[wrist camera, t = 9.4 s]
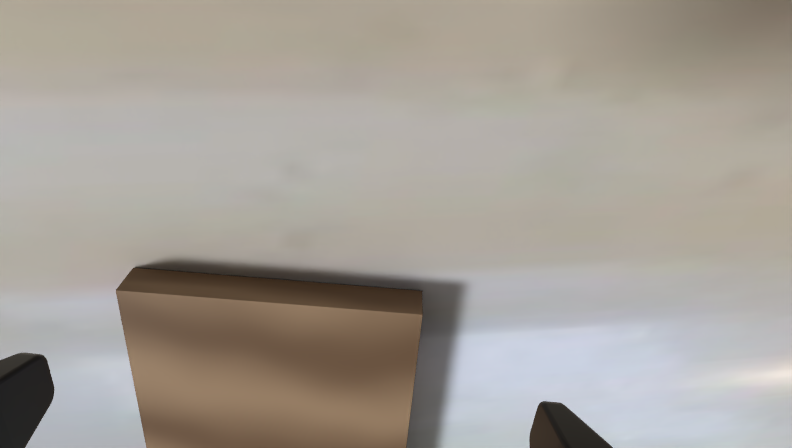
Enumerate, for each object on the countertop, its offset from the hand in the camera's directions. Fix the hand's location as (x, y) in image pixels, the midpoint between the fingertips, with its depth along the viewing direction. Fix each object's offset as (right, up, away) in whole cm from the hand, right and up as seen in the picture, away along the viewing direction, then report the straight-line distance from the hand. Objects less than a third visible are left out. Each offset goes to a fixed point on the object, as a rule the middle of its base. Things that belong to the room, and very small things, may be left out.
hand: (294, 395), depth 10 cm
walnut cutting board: (-4, -6, +17) cm, 19 cm away
